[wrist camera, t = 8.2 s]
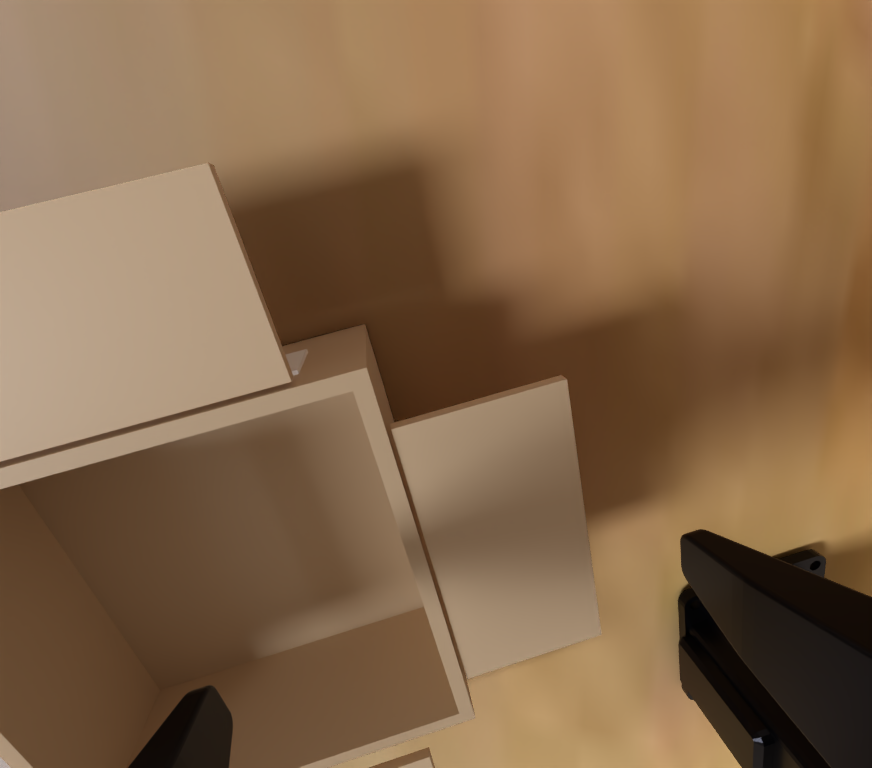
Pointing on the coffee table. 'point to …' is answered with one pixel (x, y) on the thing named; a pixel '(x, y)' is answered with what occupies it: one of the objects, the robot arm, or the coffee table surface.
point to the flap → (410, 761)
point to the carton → (249, 505)
